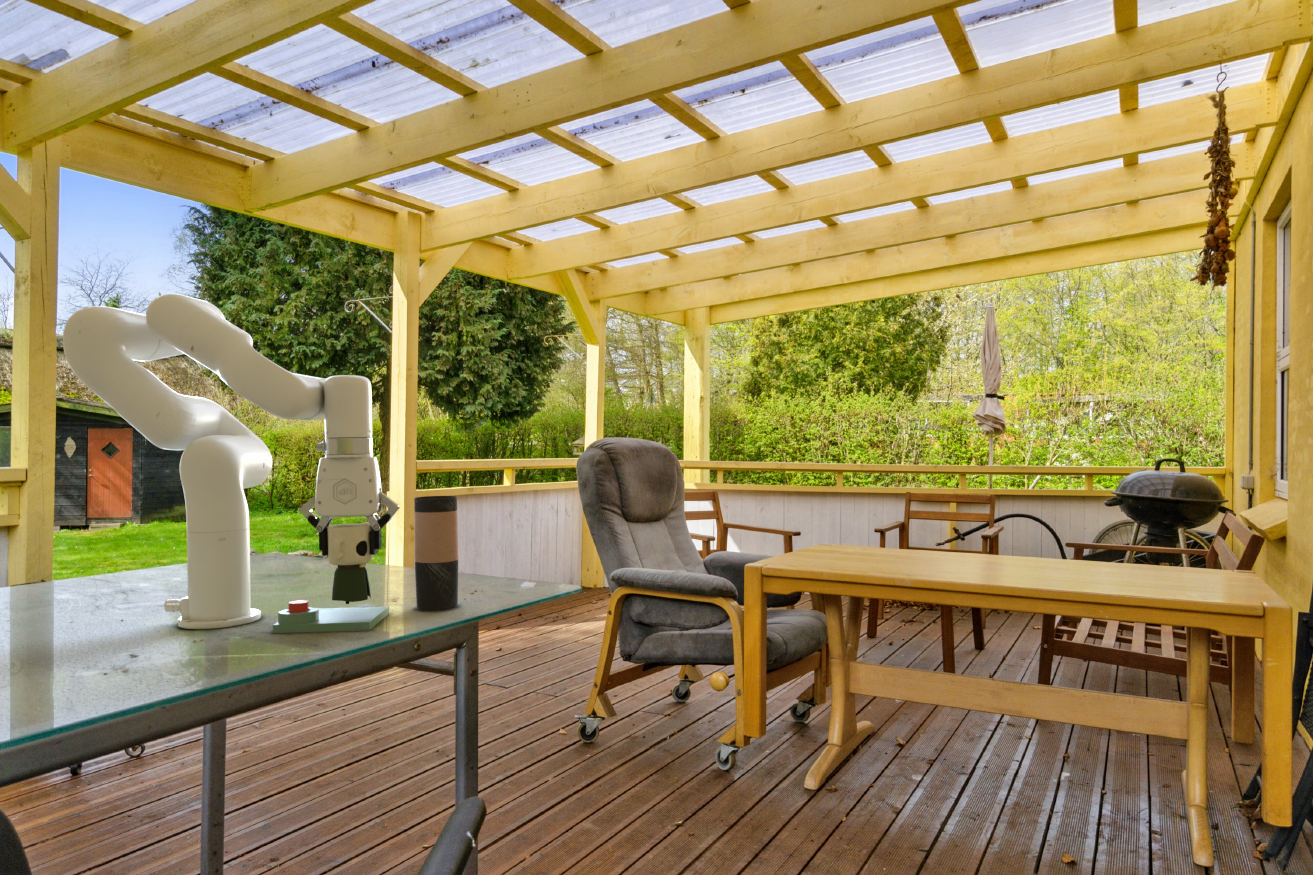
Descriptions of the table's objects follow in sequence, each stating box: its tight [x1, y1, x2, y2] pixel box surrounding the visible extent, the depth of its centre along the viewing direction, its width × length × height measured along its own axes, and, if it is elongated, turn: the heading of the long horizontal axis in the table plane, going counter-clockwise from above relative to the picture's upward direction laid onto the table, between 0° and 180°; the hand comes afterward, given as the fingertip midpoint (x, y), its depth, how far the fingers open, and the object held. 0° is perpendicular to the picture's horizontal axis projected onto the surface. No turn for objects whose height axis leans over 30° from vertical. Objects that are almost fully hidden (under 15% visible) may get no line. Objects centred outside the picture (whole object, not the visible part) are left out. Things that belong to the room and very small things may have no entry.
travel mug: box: [413, 495, 459, 612], centre depth 155 cm, size 8×8×20 cm
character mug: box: [327, 522, 374, 605], centre depth 145 cm, size 11×7×13 cm, turn 175°
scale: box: [272, 605, 390, 634], centre depth 143 cm, size 15×13×3 cm
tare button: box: [288, 599, 310, 613], centre depth 139 cm, size 3×3×2 cm
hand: (350, 553), depth 145 cm, fingers closed on character mug, 7 cm apart
